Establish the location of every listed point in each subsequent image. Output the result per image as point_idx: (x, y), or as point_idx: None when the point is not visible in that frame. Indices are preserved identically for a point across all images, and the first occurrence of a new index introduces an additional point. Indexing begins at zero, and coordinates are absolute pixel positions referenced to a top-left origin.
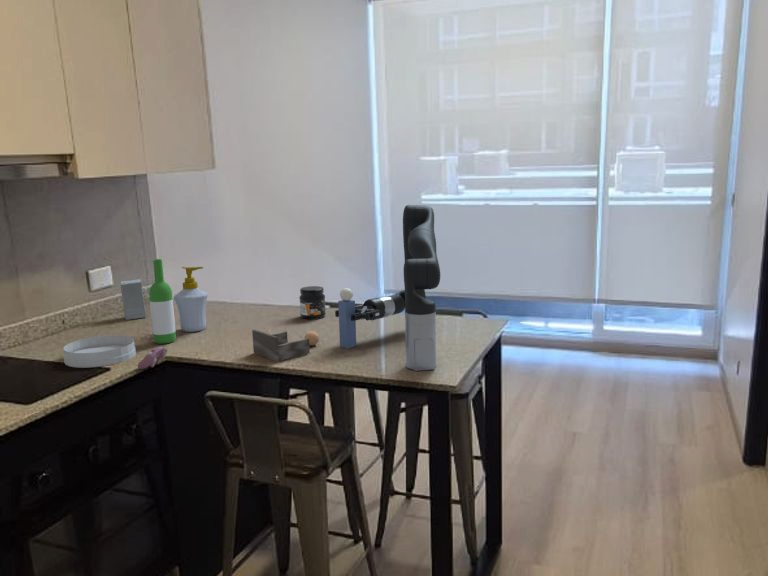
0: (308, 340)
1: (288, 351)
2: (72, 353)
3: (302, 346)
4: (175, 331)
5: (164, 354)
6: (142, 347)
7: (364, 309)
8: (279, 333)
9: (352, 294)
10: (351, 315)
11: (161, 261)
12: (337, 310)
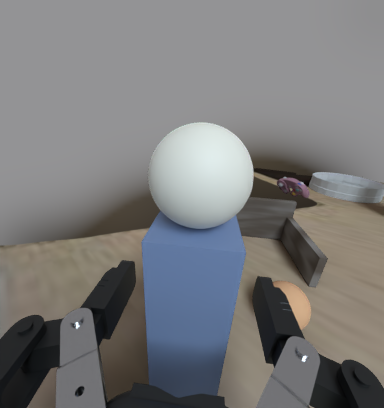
0: None
1: None
2: (320, 173)
3: None
4: None
5: (297, 190)
6: (376, 207)
7: (69, 369)
8: (309, 244)
9: (149, 179)
10: (128, 261)
11: None
12: (265, 281)
